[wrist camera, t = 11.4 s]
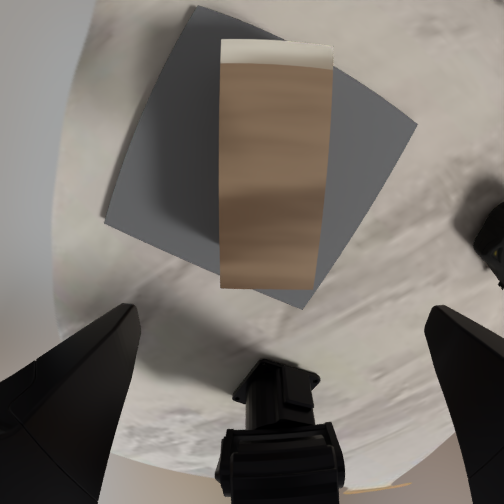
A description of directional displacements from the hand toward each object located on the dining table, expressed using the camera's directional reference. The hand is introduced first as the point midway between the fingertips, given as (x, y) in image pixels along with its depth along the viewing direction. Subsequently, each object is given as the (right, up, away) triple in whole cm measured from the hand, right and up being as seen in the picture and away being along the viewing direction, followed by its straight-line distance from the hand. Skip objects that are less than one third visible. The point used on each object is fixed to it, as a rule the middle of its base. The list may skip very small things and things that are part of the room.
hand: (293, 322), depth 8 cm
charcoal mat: (-1, +7, +11) cm, 13 cm away
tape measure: (+21, +3, +13) cm, 25 cm away
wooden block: (0, +1, +10) cm, 10 cm away
